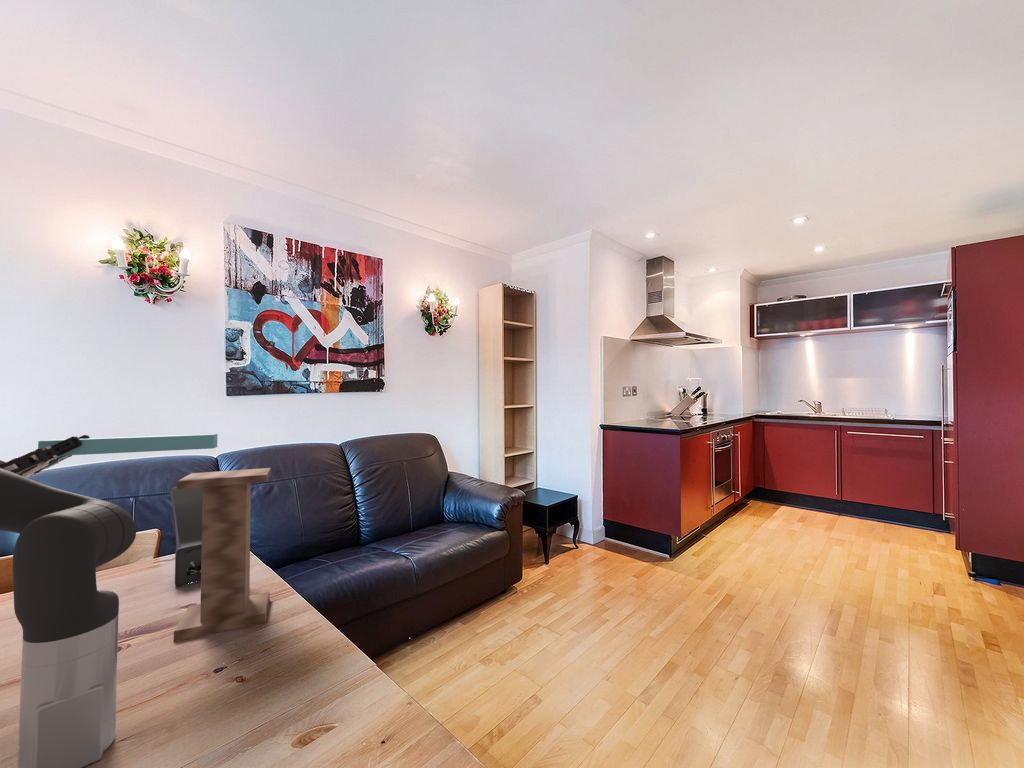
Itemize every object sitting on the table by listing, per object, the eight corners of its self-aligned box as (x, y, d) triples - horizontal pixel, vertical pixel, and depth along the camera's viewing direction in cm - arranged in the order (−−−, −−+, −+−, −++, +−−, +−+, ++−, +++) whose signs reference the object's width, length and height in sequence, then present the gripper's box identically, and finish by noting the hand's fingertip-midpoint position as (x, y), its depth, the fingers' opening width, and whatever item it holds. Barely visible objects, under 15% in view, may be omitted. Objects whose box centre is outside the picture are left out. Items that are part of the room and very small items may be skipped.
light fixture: (207, 561, 131) (209, 481, 132) (224, 575, 119) (225, 488, 120) (162, 571, 123) (164, 486, 124) (175, 588, 111) (177, 494, 112)
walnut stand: (173, 641, 86) (177, 481, 87) (188, 615, 96) (191, 473, 98) (265, 622, 93) (266, 474, 94) (269, 600, 103) (270, 467, 105)
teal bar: (37, 456, 81) (38, 441, 82) (49, 454, 85) (49, 439, 85) (213, 448, 93) (214, 434, 94) (217, 447, 97) (217, 433, 97)
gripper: (-69, 478, 72) (53, 424, 79) (-12, 467, 85) (89, 422, 92) (-38, 514, 73) (79, 458, 80) (13, 498, 86) (111, 451, 93)
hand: (84, 439), depth 86 cm, fingers closed on teal bar, 4 cm apart
